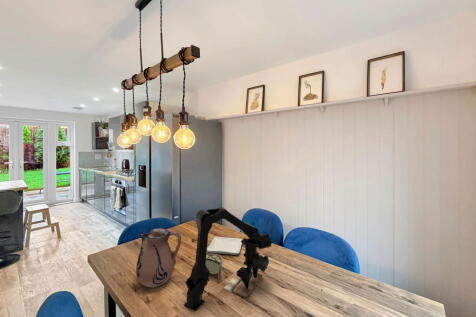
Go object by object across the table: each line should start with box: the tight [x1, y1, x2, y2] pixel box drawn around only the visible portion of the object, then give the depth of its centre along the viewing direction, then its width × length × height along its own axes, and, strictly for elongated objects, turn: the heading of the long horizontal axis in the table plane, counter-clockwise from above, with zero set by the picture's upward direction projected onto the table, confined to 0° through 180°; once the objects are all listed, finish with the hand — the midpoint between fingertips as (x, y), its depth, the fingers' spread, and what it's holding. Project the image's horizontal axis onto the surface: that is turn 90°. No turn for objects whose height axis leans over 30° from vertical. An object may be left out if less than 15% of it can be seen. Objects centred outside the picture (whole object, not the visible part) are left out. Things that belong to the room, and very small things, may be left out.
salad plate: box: [207, 236, 244, 256], centre depth 145 cm, size 21×21×3 cm
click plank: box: [232, 272, 263, 298], centre depth 106 cm, size 18×7×1 cm, turn 151°
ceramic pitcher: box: [135, 227, 182, 288], centre depth 108 cm, size 18×21×25 cm
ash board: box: [223, 273, 242, 293], centre depth 109 cm, size 18×4×1 cm, turn 151°
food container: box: [206, 253, 224, 281], centre depth 114 cm, size 12×6×10 cm, turn 59°
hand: (251, 282), depth 105 cm, fingers open, 9 cm apart
